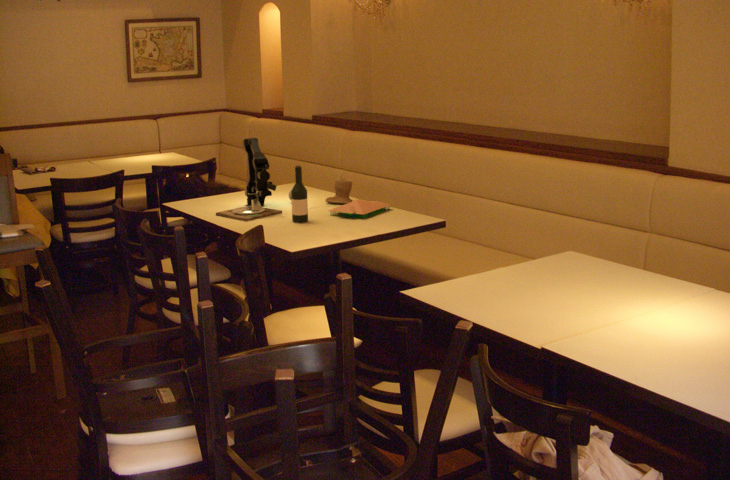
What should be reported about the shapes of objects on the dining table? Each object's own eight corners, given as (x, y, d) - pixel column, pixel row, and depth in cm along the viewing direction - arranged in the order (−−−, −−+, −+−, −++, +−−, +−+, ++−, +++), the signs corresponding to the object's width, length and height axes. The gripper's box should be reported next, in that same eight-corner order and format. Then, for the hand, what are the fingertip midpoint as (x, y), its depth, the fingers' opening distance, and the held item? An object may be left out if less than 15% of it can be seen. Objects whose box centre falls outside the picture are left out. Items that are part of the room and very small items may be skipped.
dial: (253, 206, 428) (252, 196, 426) (274, 210, 416) (273, 199, 415) (223, 212, 412) (222, 202, 410) (244, 216, 400) (243, 205, 399)
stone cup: (355, 202, 445) (355, 177, 441) (348, 205, 434) (347, 180, 431) (332, 200, 450) (332, 176, 447) (324, 204, 440) (324, 179, 436)
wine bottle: (292, 220, 399) (290, 164, 391) (308, 219, 399) (306, 164, 392) (292, 223, 391) (290, 167, 383) (308, 222, 391) (306, 166, 384)
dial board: (251, 207, 432) (251, 204, 432) (281, 213, 416) (281, 210, 415) (215, 215, 413) (215, 212, 413) (246, 221, 396) (246, 218, 396)
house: (325, 217, 407) (325, 202, 405) (357, 206, 434) (357, 192, 432) (361, 221, 395) (360, 206, 393) (391, 210, 422) (391, 196, 420)
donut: (302, 201, 449) (302, 185, 447) (305, 202, 446) (304, 185, 444) (287, 203, 444) (287, 186, 442) (290, 204, 442) (289, 187, 439)
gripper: (280, 179, 408) (281, 207, 411) (269, 175, 424) (270, 202, 428) (260, 181, 403) (262, 209, 407) (250, 176, 420) (252, 203, 423)
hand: (262, 206), depth 416 cm, fingers closed
